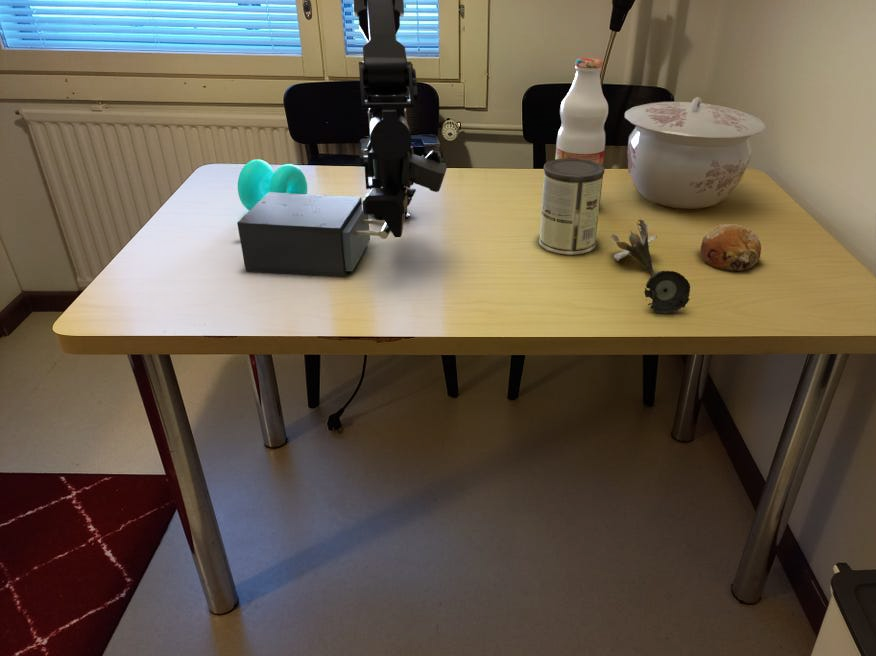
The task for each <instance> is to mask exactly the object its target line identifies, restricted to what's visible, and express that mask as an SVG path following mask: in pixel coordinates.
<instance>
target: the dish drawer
mask: <svg viewBox="0 0 876 656" xmlns="http://www.w3.org/2000/svg"><path fill="white" fill-rule="evenodd" d="M369 217H370V216H369V215H367V214H365V213H364V210H363V202H362V203H361V204H360V205H359V207H358V208H357V210H356V211H355V213H353V214H352V216H351V217H350V219H349V220H348V222H347V223H346V225H345V226H344V228H343V229H342V241H343V252H344V263H345V271H348V272H353V271H354V269H355V267H356V266H357V264H358V262H359V260H360V259H361V257H362V255H363V253H364V252H365V249H366V248H367V246H368V244H369V242H370V241H371V237H379V238H380V239H382V240H386V239H387V238H388V237H389V235H390V233H391V230H390V228H389V227H388V225H387V223H386V222H385V220H376V219H375V218H373V219H371V218H369ZM370 225H383V226H382V227H381V229H380V230H379V231H377V230H370Z"/></svg>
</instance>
